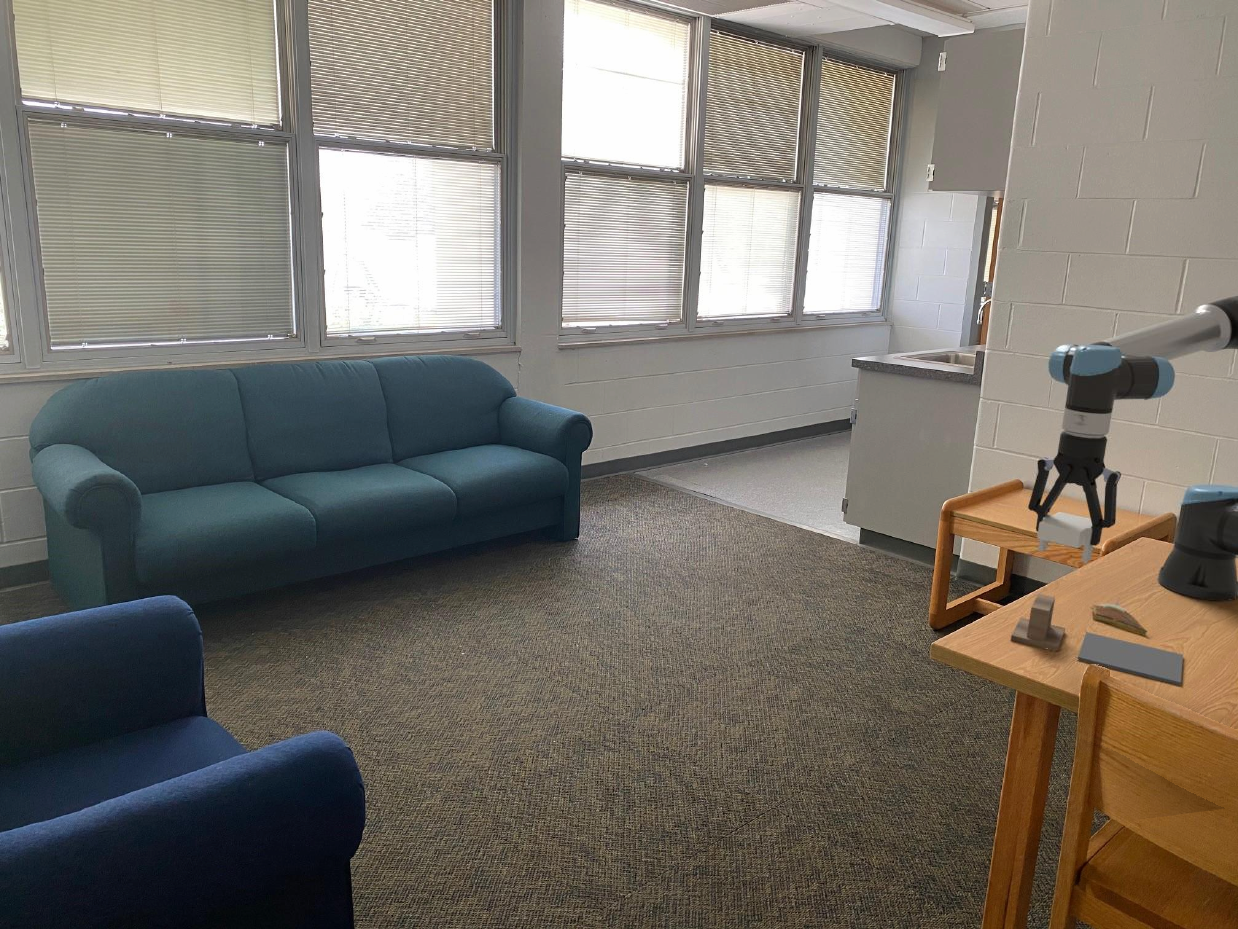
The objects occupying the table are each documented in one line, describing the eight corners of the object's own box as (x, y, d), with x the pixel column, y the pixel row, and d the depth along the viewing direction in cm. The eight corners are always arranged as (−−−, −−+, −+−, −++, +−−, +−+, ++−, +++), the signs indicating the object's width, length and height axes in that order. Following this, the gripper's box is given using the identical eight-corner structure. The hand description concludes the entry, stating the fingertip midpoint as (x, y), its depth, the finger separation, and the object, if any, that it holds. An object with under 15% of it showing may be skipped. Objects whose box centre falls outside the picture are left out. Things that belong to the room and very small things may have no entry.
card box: (1056, 526, 175) (1059, 511, 174) (1096, 536, 171) (1098, 520, 170) (1037, 538, 168) (1039, 522, 167) (1077, 548, 164) (1080, 532, 163)
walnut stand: (1020, 622, 182) (1025, 589, 180) (1064, 632, 178) (1070, 598, 176) (1010, 640, 173) (1016, 605, 172) (1057, 651, 169) (1063, 616, 168)
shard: (1146, 638, 178) (1148, 630, 177) (1104, 635, 178) (1105, 626, 178) (1124, 615, 188) (1125, 607, 188) (1084, 612, 189) (1085, 604, 188)
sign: (1136, 595, 198) (1125, 616, 186) (1135, 599, 198) (1124, 620, 186) (1109, 588, 201) (1096, 609, 189) (1108, 592, 201) (1096, 612, 189)
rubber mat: (1077, 660, 166) (1077, 657, 166) (1085, 634, 177) (1086, 632, 177) (1180, 685, 158) (1180, 682, 158) (1182, 657, 169) (1183, 654, 169)
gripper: (1019, 426, 168) (1001, 545, 174) (1139, 446, 155) (1115, 575, 161) (1035, 421, 174) (1017, 536, 180) (1152, 440, 160) (1129, 565, 166)
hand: (1064, 554), depth 170 cm, fingers closed on card box, 7 cm apart
